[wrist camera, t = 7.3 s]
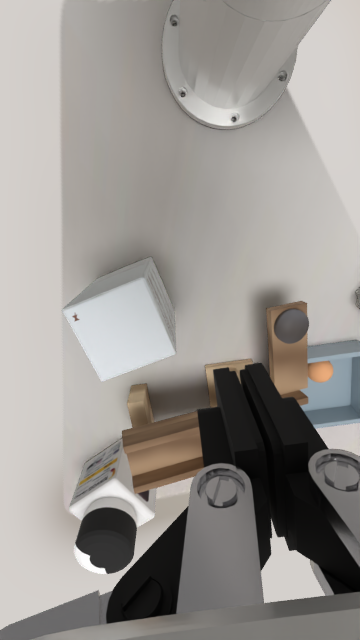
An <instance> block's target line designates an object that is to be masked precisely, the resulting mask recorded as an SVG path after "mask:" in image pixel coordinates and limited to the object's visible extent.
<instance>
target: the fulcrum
mask: <svg viewBox="0 0 360 640" xmlns="http://www.w3.org/2000/svg"><path fill="white" fill-rule="evenodd" d="M248 364H253V362H252V360H251V359H246V360H239V361H232V362H225V363H217V364H210V365H205V369H206V376H207V384H208V392H209V399H210V407H215V406H217V399H216V392H215V384H214V376H213V369H219V368H227V367H229V370H230V371H236V373H237V376H238V378H239V381H240V370H242V369H245V365H248ZM240 384H241V382H240Z"/></svg>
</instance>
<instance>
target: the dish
mask: <svg viewBox="0 0 360 640" xmlns="http://www.w3.org/2000/svg"><path fill="white" fill-rule="evenodd" d="M307 358H308V363H314V362H321V361H328V360H329V361H330V363H331V364H332V366H333V375H332V377H331V378H330V379H329V380H328V381H326V382H322V383H319V382H315V381H313V380H311V379H310V378H309V377H308V388H305V389H301V391H302V392H303V393H304V394H305V395H306V396H307V397H308V404H305V405H302V406H301V408H302V409H303V411H304V413H305V414H306V416H307V417H308V419H309V420H310V422H311V423H312V425H313V426H314V428H323V427H330V426H338V425H346V424H353V423H360V342H359V341H358V340H352V341H344V342H337V343H330V344H323V345H316V346H309V347H307Z"/></svg>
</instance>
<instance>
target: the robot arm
mask: <svg viewBox="0 0 360 640" xmlns="http://www.w3.org/2000/svg"><path fill="white" fill-rule="evenodd" d="M330 1H331V0H173V2H172V4H171V6H170V8H169V11H168V13H167V17H166V20H165V24H164V28H163V37H162V60H163V68H164V73H165V77H166V80H167V83H168V86H169V88H170V90H171V92H172V94H173V96H174V99H175V100H176V101H177V103H178V104H179V105H180V107H181V108H182V109H183V110H184V111H185V112H186V113H187V114H188V115H189V116H190V117H191V118H193V119H194V120H196V121H198V122H199V123H201V124H203V125H206V126H209V127H211V128H216V129H225V130H226V129H235V128H240V127H243V126H246V125H249V124H250V123H252V122H254V121H256V120H257V119H259V118H260V117H262V116H263V115H264V114H265V113H266V112H268V111H269V110H270V109H271V107H272V106H273V105H274V104H275V103H276V102H277V101H278V99H279V98H280V96H281V95H282V93H283V92H284V90H285V89H286V87H287V85H288V83H289V81H290V78H291V75H292V72H293V69H294V65H295V61H296V55H297V47H298V44H299V43H300V42H301V40H302V39H303V38H304V36H305V35H306V33H307V32H308V31H309V29H310V28H311V27H312V25H313V24H314V23H315V21H316V20H317V19H318V17H319V16H320V14H321V13H322V12H323V10H324V9H325V8H326V6H327V5H328V4H329V2H330ZM173 23H176V24H177V26H175V27H174V26H172V24H173ZM278 77H281V78H282V81H280V80H279V79H278ZM181 93H184V94H185V97H181V96H180V94H181ZM232 117H235V118H236V121H235V122H232V120H231V118H232ZM213 376H214V384H215V392H216V399H217V407H213V408H206V409H198V410H197V414H198V422H199V430H200V439H201V447H202V456H203V464H204V468H203V469H202V470H201V471H199V472H198V473H197V474H196V476H195V477H194V479H193V481H192V484H191V489H190V498H189V506H188V507H187V508H186V509H185V510H184V511H183V512H182V513H181V514H180V516H179V517H178V518H177V519H176V520H175V521H174V522H173V523H172V524H171V525H170V526H169V527H168V528H167V530H166V531H165V532H164V533H163V534H162V535H161V536H160V537H159V538H158V539H157V540H156V541H155V542H154V543H153V545H152V546H151V547H150V548H149V549H148V550H147V551H146V552H145V553H144V554H143V555H142V557H140V558H139V560H138V561H137V562H136V563H135V564H134V565H133V566H132V567H131V568H130V569H129V570H128V571H127V572H126V574H125V575H124V576H123V577H122V578H121V579H120V581H119V582H118V583H117V585H116V586H115V587H114V589H113V591H111V592H108V593H105V594H103V595H100V593H99V591H96V592H93V593H90V594H88V595H85V596H82V597H80V598H78V599H75V600H72V601H70V602H67V603H64V604H62V605H59V606H57V607H54V608H52V609H49V610H46V611H44V612H41V613H39V614H36V615H34V616H31V617H28V618H26V619H23V620H21V621H18V622H15V623H13V624H10V625H8V626H6V627H5V628H3V629H2V630H0V640H360V456H358V455H356V454H354V453H352V452H348V451H345V450H340V449H328V447H327V446H326V444H325V443H324V441H323V440H322V438H321V437H320V435H319V434H318V432H317V431H316V429H315V428H314V426H313V425H312V423H311V422H310V420H309V419H308V417H307V416H306V414H305V413H304V411H303V409H302V408H301V406H300V405H299V403H298V402H297V400H296V399H295V398H294V397H286V398H282V397H281V395H280V393H279V392H278V390H277V388H276V387H275V385H274V383H273V382H272V380H271V378H270V377H269V375H268V373H267V371H266V370H265V368H264V366H263V365H262V363H255V364H248V365H245V369H242V370H240V381H239V378H238V376H237V373H236V371H230V370H229V367H227V368H219V369H213ZM240 382H241V384H240ZM271 519H272V522H273V525H274V528H275V531H276V534H277V536H278V537H285V540H286V543H287V545H288V548H289V551H292V550H297V551H298V552H299V553H301V554H302V555H304V556H305V557H307V558H309V559H310V565H311V567H312V570H313V572H314V574H315V576H316V578H317V580H318V582H319V584H320V586H321V588H322V590H323V591H324V593H325V595H326V596H320V597H313V598H304V599H295V600H287V601H278V602H270V603H264V599H263V589H262V580H261V570H262V568H263V567H264V565H265V563H266V562H267V560H268V559H269V557H270V555H271V545H270V538H272V529H271Z"/></svg>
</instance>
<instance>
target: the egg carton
mask: <svg viewBox="0 0 360 640" xmlns="http://www.w3.org/2000/svg"><path fill="white" fill-rule="evenodd" d="M355 293H356V295H357V303H356V306H357V307H358V308H360V287H359V288H358V289H357V290H356V292H355Z"/></svg>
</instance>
